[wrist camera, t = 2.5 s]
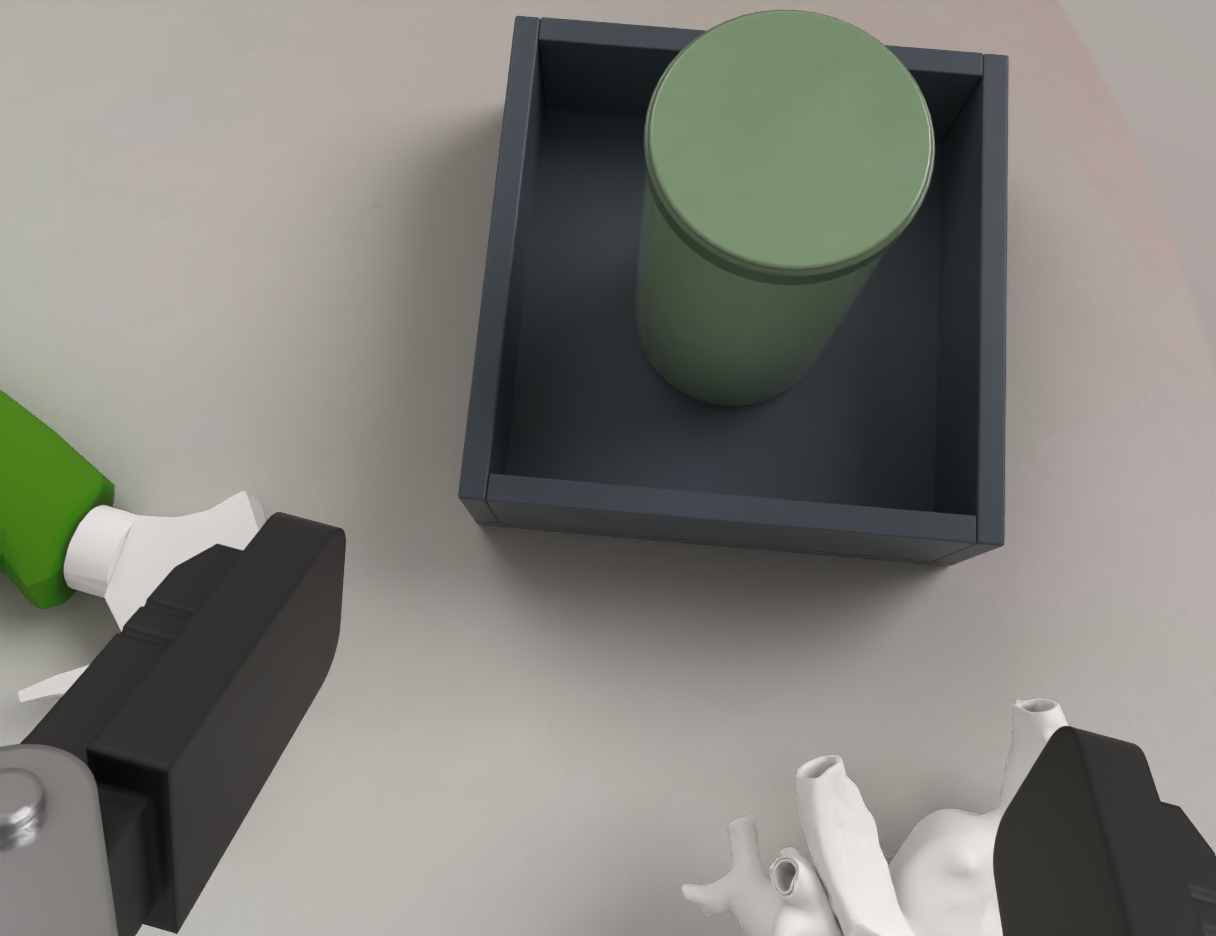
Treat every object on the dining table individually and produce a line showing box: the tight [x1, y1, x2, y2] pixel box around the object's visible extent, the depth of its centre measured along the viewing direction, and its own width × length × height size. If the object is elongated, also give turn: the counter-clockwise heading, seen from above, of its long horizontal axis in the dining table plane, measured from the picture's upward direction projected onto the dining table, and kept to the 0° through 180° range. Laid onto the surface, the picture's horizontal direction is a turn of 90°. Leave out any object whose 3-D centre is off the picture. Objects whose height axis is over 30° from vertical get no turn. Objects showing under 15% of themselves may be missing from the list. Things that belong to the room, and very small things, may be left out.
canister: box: [634, 10, 935, 406], centre depth 26 cm, size 6×6×10 cm
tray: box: [458, 16, 1008, 566], centre depth 29 cm, size 13×13×4 cm
